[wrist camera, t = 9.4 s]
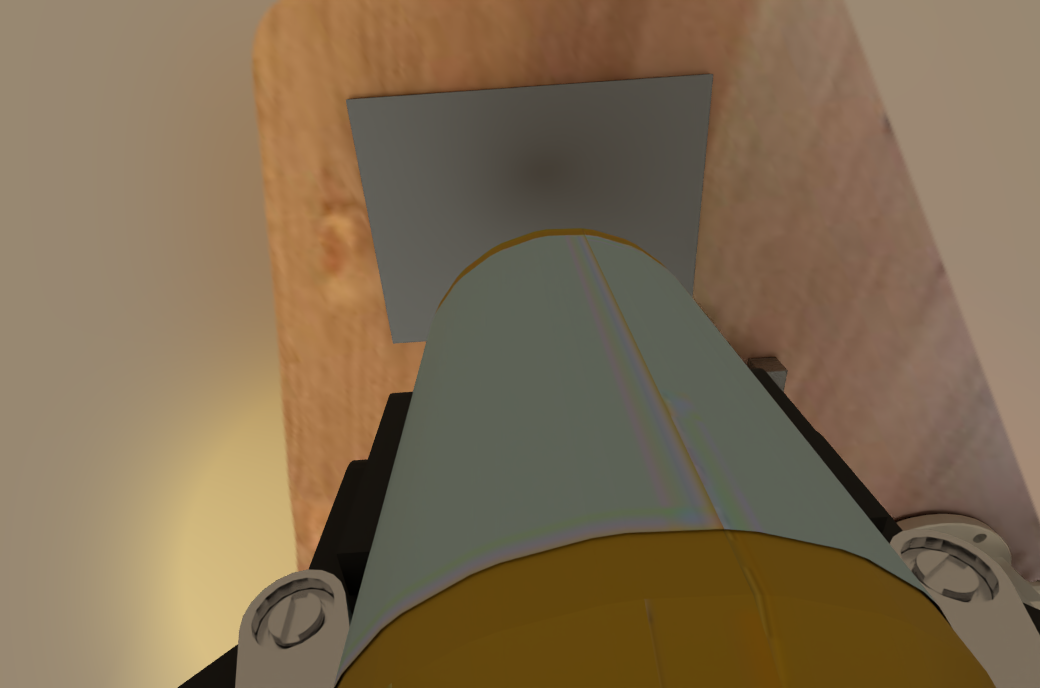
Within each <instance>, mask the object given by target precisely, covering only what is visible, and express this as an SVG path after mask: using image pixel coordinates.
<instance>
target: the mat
mask: <svg viewBox="0 0 1040 688" xmlns="http://www.w3.org/2000/svg"><path fill="white" fill-rule="evenodd" d="M712 83H713V74H701V75H686V76H672V77H658V78H644V79H629V80H615V81H601V82H586V83H572V84H558V85H543V86H529V87H515V88H501V89H486V90H472V91H458V92H443V93H429V94H415V95H401V96H386V97H372V98H358V99H347V100H346V103H347V109H348V114H349V119H350V124H351V129H352V134H353V139H354V145H355V150H356V155H357V160H358V165H359V170H360V175H361V181H362V186H363V191H364V196H365V201H366V206H367V211H368V217H369V222H370V227H371V232H372V237H373V242H374V248H375V253H376V258H377V263H378V268H379V273H380V278H381V284H382V289H383V294H384V299H385V304H386V309H387V314H388V320H389V325H390V330H391V335H392V340H393V343H406V342H421V341H427V338H428V334H429V331H430V327H431V323H432V321H433V318H434V316H435V314H436V311H437V308H438V306H439V304H440V302H441V300H442V299H443V297H444V296H445V294H446V293H447V291H448V290H449V288H450V287H451V285H452V284H453V282H454V281H455V279H456V278H457V277H458V276H459V274H460V273H461V272H462V271H463V270H464V269H465V268H466V267H468V266H469V265H470V264H472V263H473V262H474V261H476V260H477V259H478V258H480V257H481V256H482V255H484V254H485V253H486V252H487V251H489V250H490V249H491V248H493V247H495V246H497V245H499V244H501V243H503V242H506V241H509V240H511V239H514V238H517V237H520V236H523V235H526V234H529V233H531V232H534V231H539V230H545V229H568V228H584V229H592V230H596V231H600V232H603V233H606V234H610V235H613V236H617V237H620V238H623V239H626V240H628V241H630V242H632V243H634V244H636V245H638V246H639V247H640V248H642V249H643V250H644V251H646V252H647V253H649V254H650V255H651V256H653V257H654V258H656V259H657V260H658V261H660V262H661V263H662V264H663V265H664V266H665V267H666V268H667V269H668V270H669V271H670V272H671V273H672V274H673V275H674V276H675V277H676V278H677V279H678V281H679V282H680V283H681V284H682V286H683V287H684V288H685V289H686V291H687V292H688V293H689V294H690V296H691V297H692V295H693V285H694V274H695V263H696V253H697V242H698V231H699V221H700V210H701V200H702V189H703V178H704V168H705V157H706V146H707V136H708V125H709V114H710V104H711V93H712Z"/></svg>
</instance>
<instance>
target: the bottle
mask: <svg viewBox="0 0 1040 688" xmlns="http://www.w3.org/2000/svg"><path fill="white" fill-rule="evenodd" d="M338 680H339V681H338ZM337 681H338V685H337V688H996V686H995V685H994V683H993V681H992V680H991V678H990V676H989V674H988V673H987V671H986V670H985V669H984V668H983V666H982V665H981V664H980V663H979V661H978V660H977V659H976V657H975V656H974V655H973V654H972V652H971V651H970V650H969V649H968V647H967V646H966V645H965V644H964V642H963V641H962V640H961V639H960V637H959V636H958V635H957V634H956V632H955V631H954V630H953V628H952V626H951V625H950V623H949V621H948V620H947V618H946V616H945V615H944V613H943V611H942V610H941V608H940V606H939V605H938V604H937V603H936V601H935V600H934V599H933V598H932V596H931V595H930V594H929V593H928V591H927V590H926V589H925V588H924V586H923V585H922V584H921V583H920V581H919V580H918V579H917V578H916V576H915V575H914V574H913V573H912V571H911V570H910V569H909V568H908V566H907V565H906V564H905V563H904V561H903V560H902V559H901V558H900V556H899V555H898V554H897V553H896V552H895V550H894V549H893V548H892V547H891V545H890V544H889V543H888V542H887V540H886V539H885V538H884V537H883V535H882V534H881V533H880V532H879V530H878V529H877V528H876V527H875V525H874V524H873V523H872V522H871V520H870V519H869V518H868V517H867V515H866V514H865V513H864V512H863V510H862V509H861V508H860V507H859V505H858V504H857V503H856V502H855V500H854V499H853V498H852V497H851V495H850V494H849V493H848V492H847V490H846V489H845V488H844V487H843V485H842V484H841V483H840V482H839V480H838V479H837V478H836V477H835V475H834V474H833V473H832V472H831V470H830V469H829V468H828V467H827V465H826V464H825V463H824V462H823V460H822V459H821V458H820V457H819V455H818V454H817V453H816V452H815V450H814V449H813V448H812V447H811V445H810V444H809V443H808V442H807V440H806V439H805V438H804V437H803V435H802V434H801V433H800V432H799V430H798V429H797V428H796V427H795V425H794V424H793V423H792V422H791V420H790V419H789V418H788V417H787V415H786V414H785V413H784V412H783V410H782V409H781V408H780V407H779V405H778V404H777V403H776V402H775V400H774V399H773V398H772V397H771V395H770V394H769V393H768V392H767V390H766V389H765V388H764V387H763V385H762V384H761V383H760V382H759V380H758V379H757V378H756V377H755V375H754V374H753V373H752V372H751V370H750V369H749V368H748V367H747V365H746V364H745V363H744V362H743V360H742V359H741V358H740V357H739V355H738V354H737V353H736V352H735V350H734V349H733V348H732V347H731V345H730V344H729V343H728V342H727V340H726V339H725V338H724V337H723V335H722V334H721V333H720V332H719V331H718V329H717V328H716V327H715V326H714V324H713V323H712V322H711V321H710V319H709V318H708V317H707V316H706V314H705V313H704V312H703V311H702V309H701V308H700V307H699V306H698V304H697V303H696V302H695V301H694V299H693V298H692V297H691V296H690V294H689V293H688V292H687V291H686V289H685V288H684V287H683V286H682V284H681V283H680V282H679V281H678V279H677V278H676V277H675V276H674V275H673V274H672V273H671V272H670V271H669V270H668V269H667V268H666V267H665V266H664V265H663V264H662V263H661V262H660V261H658V260H657V259H656V258H654V257H653V256H651V255H650V254H649V253H647V252H646V251H644V250H643V249H642V248H640V247H639V246H638V245H636V244H634V243H632V242H630V241H628V240H626V239H623V238H620V237H617V236H613V235H610V234H606V233H603V232H600V231H596V230H592V229H584V228H568V229H545V230H539V231H534V232H531V233H529V234H526V235H523V236H520V237H517V238H514V239H511V240H509V241H506V242H503V243H501V244H499V245H497V246H495V247H493V248H491V249H490V250H489V251H487V252H486V253H485V254H484V255H482V256H481V257H480V258H478V259H477V260H476V261H474V262H473V263H472V264H470V265H469V266H468V267H466V268H465V269H464V270H463V271H462V272H461V273H460V274H459V276H458V277H457V278H456V279H455V281H454V282H453V284H452V285H451V287H450V288H449V290H448V291H447V293H446V294H445V296H444V297H443V299H442V300H441V302H440V304H439V306H438V308H437V311H436V314H435V316H434V318H433V321H432V323H431V327H430V331H429V334H428V338H427V342H426V345H425V349H424V353H423V357H422V360H421V364H420V368H419V371H418V375H417V379H416V383H415V386H414V390H413V395H412V398H411V402H410V406H409V410H408V413H407V417H406V421H405V424H404V428H403V432H402V436H401V439H400V443H399V447H398V451H397V454H396V458H395V462H394V465H393V469H392V473H391V477H390V480H389V484H388V488H387V491H386V495H385V499H384V503H383V506H382V510H381V514H380V517H379V521H378V525H377V529H376V532H375V536H374V540H373V543H372V547H371V551H370V553H369V557H368V561H367V564H366V568H365V572H364V576H363V579H362V583H361V587H360V590H359V594H358V598H357V602H356V605H355V609H354V613H353V616H352V620H351V624H350V628H349V631H348V635H347V639H346V642H345V646H344V650H343V654H342V657H341V661H340V665H339V668H338V672H337V676H336V680H335V683H334V687H335V685H336V683H337ZM334 687H333V688H334Z"/></svg>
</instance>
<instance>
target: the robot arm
mask: <svg viewBox="0 0 1040 688" xmlns="http://www.w3.org/2000/svg"><path fill="white" fill-rule="evenodd" d="M750 370H751V372H752V373H753V374H754V375H755V377H756V378H757V379H758V380H759V382H760V383H761V384H762V385H763V387H764V388H765V389H766V390H767V392H768V393H769V394H770V395H771V397H772V398H773V399H774V400H775V402H776V403H777V404H778V405H779V407H780V408H781V409H782V410H783V412H784V413H785V414H786V415H787V417H788V418H789V419H790V420H791V422H792V423H793V424H794V425H795V427H796V428H797V429H798V430H799V432H800V433H801V434H802V435H803V437H804V438H805V439H806V440H807V442H808V443H809V444H810V445H811V447H812V448H813V449H814V450H815V452H816V453H817V454H818V455H819V457H820V458H821V459H822V460H823V462H824V463H825V464H826V465H827V467H828V468H829V469H830V470H831V472H832V473H833V474H834V475H835V477H836V478H837V479H838V480H839V482H840V483H841V484H842V485H843V487H844V488H845V489H846V490H847V492H848V493H849V494H850V495H851V497H852V498H853V499H854V500H855V502H856V503H857V504H858V505H859V507H860V508H861V509H862V510H863V512H864V513H865V514H866V515H867V517H868V518H869V519H870V520H871V522H872V523H873V524H874V525H875V527H876V528H877V529H878V530H879V532H880V533H881V534H882V535H883V537H884V538H885V539H886V540H887V542H888V543H889V544H890V545H891V547H892V548H893V549H894V550H895V552H896V553H897V554H898V555H899V556H900V558H901V559H902V560H903V561H904V563H905V564H906V565H907V566H908V568H909V569H910V570H911V571H912V573H913V574H914V575H915V576H916V578H917V579H918V580H919V581H920V583H921V584H922V585H923V586H924V588H925V589H926V590H927V591H928V593H929V594H930V595H931V596H932V598H933V599H934V600H935V601H936V603H937V604H938V605H939V606H940V608H941V610H942V611H943V613H944V615H945V616H946V618H947V620H948V621H949V623H950V625H951V626H952V628H953V630H954V631H955V632H956V634H957V635H958V636H959V637H960V639H961V640H962V641H963V642H964V644H965V645H966V646H967V647H968V649H969V650H970V651H971V652H972V654H973V655H974V656H975V657H976V659H977V660H978V661H979V663H980V664H981V665H982V666H983V668H984V669H985V670H986V671H987V673H988V674H989V676H990V678H991V680H992V681H993V683H994V685H995V686H996V688H1040V580H1037V581H1035V582H1029V581H1027V580H1025V579H1024V578H1023V577H1022V576H1021V575H1020V574H1019V573H1018V572H1017V571H1016V570H1015V569H1014V568H1013V567H1012V566H1011V553H1010V550H1009V547H1008V546H1007V544H1006V543H1005V542H1004V540H1003V539H1002V538H1001V537H1000V536H999V535H998V534H997V533H996V532H995V531H993V530H992V529H991V528H990V527H989V526H988V525H987V524H985V523H983V522H981V521H979V520H977V519H974V518H970V517H966V516H963V515H953V514H932V515H923V516H918V517H913V518H908V519H904V520H901V521H898V522H895V521H894V520H893V518H892V517H891V516H890V515H889V514H888V512H887V511H886V510H885V509H884V508H883V507H882V505H881V504H880V503H879V502H878V501H877V500H876V498H875V497H874V496H873V495H872V494H871V492H870V491H869V490H868V489H867V488H866V487H865V485H864V484H863V483H862V482H861V481H860V480H859V478H858V477H857V476H856V475H855V474H854V472H853V471H852V470H851V469H850V468H849V467H848V465H847V464H846V463H845V462H844V461H843V460H842V458H841V457H840V456H839V455H838V454H837V452H836V451H835V450H834V449H833V448H832V447H831V445H830V444H829V443H828V442H827V441H826V439H825V438H824V437H823V436H822V435H821V434H820V433H818V432H817V431H816V430H815V429H814V428H813V427H812V426H811V424H810V423H809V422H808V421H807V420H806V418H805V417H804V416H803V415H802V414H801V413H800V411H799V410H798V409H797V408H796V407H795V405H794V404H793V403H792V402H791V401H790V399H789V398H788V397H787V396H786V395H785V394H784V392H783V391H782V390H781V389H780V388H779V386H778V385H777V384H776V383H775V382H774V381H773V379H772V378H771V377H770V376H769V375H768V373H767V372H766V371H765V370H764V369H762V368H755V369H750ZM412 395H413V392H403V393H391V394H390V396H389V398H388V401H387V404H386V407H385V410H384V413H383V416H382V419H381V422H380V425H379V428H378V431H377V434H376V437H375V440H374V443H373V446H372V449H371V452H370V455H369V458H368V460H354V461H352V462H351V463H350V464H349V466H348V467H347V470H346V472H345V475H344V478H343V480H342V483H341V485H340V488H339V491H338V493H337V496H336V499H335V501H334V504H333V507H332V509H331V512H330V514H329V517H328V520H327V522H326V525H325V528H324V530H323V533H322V536H321V538H320V541H319V543H318V546H317V549H316V551H315V554H314V557H313V559H312V562H311V564H310V567H309V570H304V571H299V572H295V573H292V574H289V575H287V576H285V577H283V578H280V579H278V580H276V581H275V582H274V583H272V584H271V585H269V586H268V587H267V588H265V589H264V590H263V591H262V592H261V593H260V594H259V595H258V596H257V597H256V598H255V599H254V600H253V601H252V602H251V604H250V605H249V607H248V609H247V610H246V612H245V614H244V616H243V618H242V622H241V626H240V630H239V641H238V645H236V646H235V647H233V648H232V649H231V650H229V651H228V652H227V653H225V654H224V655H222V656H221V657H220V658H218V659H217V660H215V661H214V662H212V663H211V664H210V665H208V666H207V667H206V668H204V669H203V670H201V671H200V672H199V673H197V674H196V675H194V676H193V677H192V678H190V679H189V680H187V681H186V682H185V683H183V684H182V685H180V686H179V687H178V688H333V687H334V683H335V680H336V676H337V672H338V668H339V665H340V661H341V657H342V654H343V650H344V646H345V642H346V639H347V635H348V631H349V628H350V624H351V620H352V616H353V613H354V609H355V605H356V602H357V598H358V594H359V590H360V587H361V583H362V579H363V576H364V572H365V568H366V564H367V561H368V557H369V553H370V551H371V547H372V543H373V540H374V536H375V532H376V529H377V525H378V521H379V517H380V514H381V510H382V506H383V503H384V499H385V495H386V491H387V488H388V484H389V480H390V477H391V473H392V469H393V465H394V462H395V458H396V454H397V451H398V447H399V443H400V439H401V436H402V432H403V428H404V424H405V421H406V417H407V413H408V410H409V406H410V402H411V398H412ZM338 681H339V680H338ZM338 681H337V683H336V685H335V687H334V688H337V685H338Z"/></svg>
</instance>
